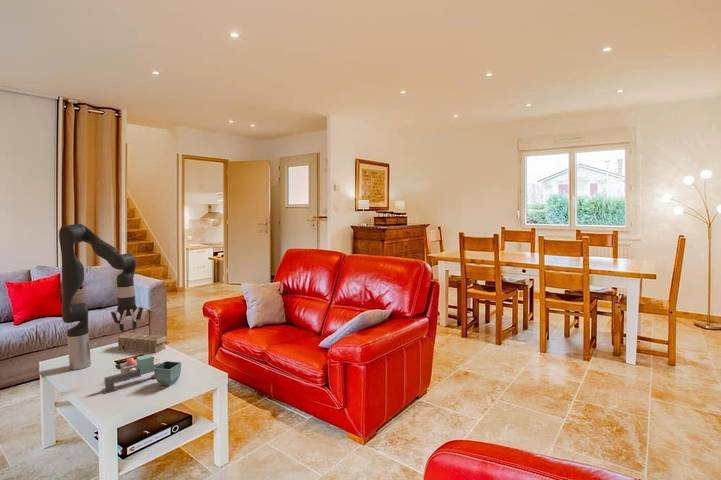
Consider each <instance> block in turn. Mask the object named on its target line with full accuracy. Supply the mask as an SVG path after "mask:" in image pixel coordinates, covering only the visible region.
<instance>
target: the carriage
mask: <svg viewBox="0 0 721 480" xmlns="http://www.w3.org/2000/svg"><path fill="white" fill-rule="evenodd" d="M154 360H155V358H154V356H153V355H152V353H149V354H145V355H144V354H143V355H141V356H140V355H139V356H136V361H137V369H139V370H140V374H143V375H146V374H149V373H148V372H150V373H152V371H154V365H155V362H154ZM145 373H146V374H145Z"/></svg>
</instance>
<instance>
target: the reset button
mask: <svg viewBox="0 0 721 480" xmlns="http://www.w3.org/2000/svg"><path fill="white" fill-rule="evenodd" d="M125 361H126V362H125V363H127V366H131V365H134V361H135V357H129V358H126V359H125Z"/></svg>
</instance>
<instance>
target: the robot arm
mask: <svg viewBox="0 0 721 480" xmlns="http://www.w3.org/2000/svg"><path fill="white" fill-rule="evenodd" d="M58 239H59V247H60V253H61V255H60V256H61V283H62V284H61V285H62V303H61V304H62V305H61V316H62V317H61V318H62V321H63V322H64V323H65V324H71V323H76V322H78V323H77V324H76V325H74V326H72V327H71V328H69V329H67V331H66V335H67V336H66V337H67V338H66V339H67V349H68V363H69V365H68V366H69V370H73V371H74V370H76V371H77V370H83V369H86V368H88V367H90V366H91V365H92V358H91V348H90V346H91V345H90V343H91V342H90V331H89V307H88V304H87V303H86V302H79V303H77V302H76V303H72V302H73V299H74V296H75V295H76V293H77V292H78V291H79V289H80V288H81V286H82V285H83V283H84V282H85V267H84V265H83V263H82V262H81V261H80V259H79V258H78V257H77V256H76V254H75V253H76V252H75V247H74V246H75V244H77V243H82V242H83V243H87V244H89V245H90V246H91V248H92V251H93V253H94V254H95V255H96V256H98V257H100V258H101V259H104V260H105V261H106V262H107V263H108V264H109V265H110V266H111V267H112V268H113V269H116V270H122V272H121V273H119V274H117V276H116V287H117V288H116V298H117V309H116V310H113V311H111V312H110V315H111V318H112V320H113V321H114V323H115V324H116V325H119V326H118V328H119V331H121V333H122V332H125V328H124V325H125V324H124V320H125V318H126V317H131V320H132V321H131V325H132V329H133V330H136V328H137V321H138V320H141V318H142V314H143V310H144V308H143V307H142V306H137V304H136V289H135V280H134V275H135V272H136V268H137V259H136V257H135V255H134V254H133V253H123V254H120V251H119V249H118V248H116V247H115V246H113V245H111V244H109V243H108V242H106V241H104V240H103V239H101V238H100V237H99V236H98V235H97V234H95V233H94V232H93V231H92V230H91V229H89V227H87V226H85V225H84V224H82V223H74V224H73V223H72V224H68V225H63V226H61V227H60V229H59V232H58ZM136 311H137V314H136V315H135V312H136ZM118 314H119V319H118V317H117V315H118Z"/></svg>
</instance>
